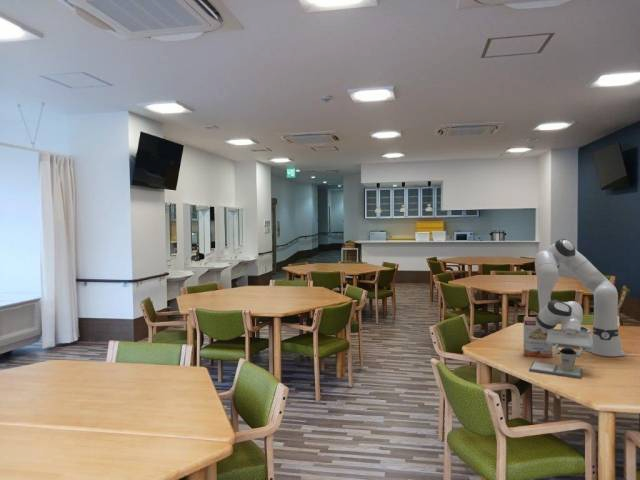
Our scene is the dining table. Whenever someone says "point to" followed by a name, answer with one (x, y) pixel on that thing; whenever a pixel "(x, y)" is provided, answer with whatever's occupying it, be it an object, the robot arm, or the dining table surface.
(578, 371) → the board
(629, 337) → the dining table surface
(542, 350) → the cracker box
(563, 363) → the coffee cup
